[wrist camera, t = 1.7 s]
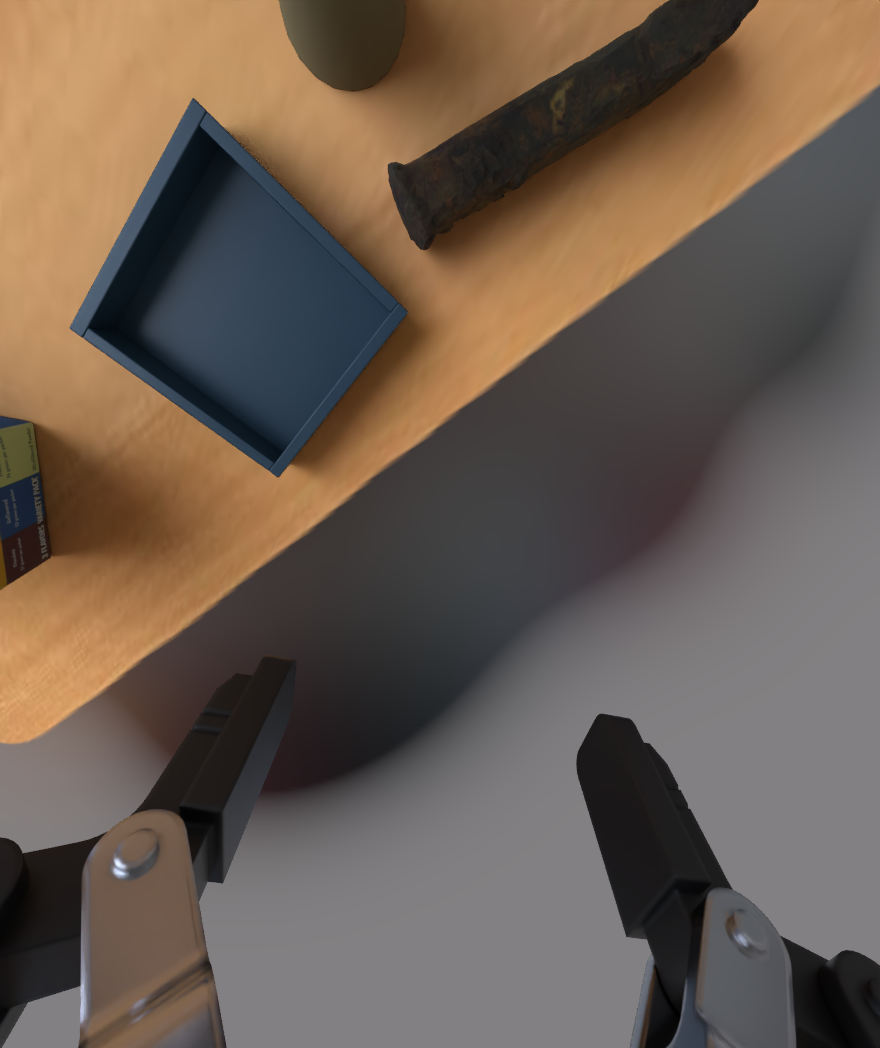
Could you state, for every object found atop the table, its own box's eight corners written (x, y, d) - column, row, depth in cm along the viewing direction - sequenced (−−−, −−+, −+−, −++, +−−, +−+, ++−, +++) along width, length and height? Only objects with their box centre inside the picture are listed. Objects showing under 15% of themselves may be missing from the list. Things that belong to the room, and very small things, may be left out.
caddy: (105, 329, 25) (68, 328, 22) (219, 127, 21) (192, 96, 19) (289, 464, 29) (278, 478, 26) (407, 314, 26) (408, 312, 23)
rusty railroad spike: (415, 260, 25) (418, 245, 20) (383, 183, 23) (381, 149, 19) (721, 101, 23) (794, 48, 19) (712, 4, 21) (790, -77, 17)
